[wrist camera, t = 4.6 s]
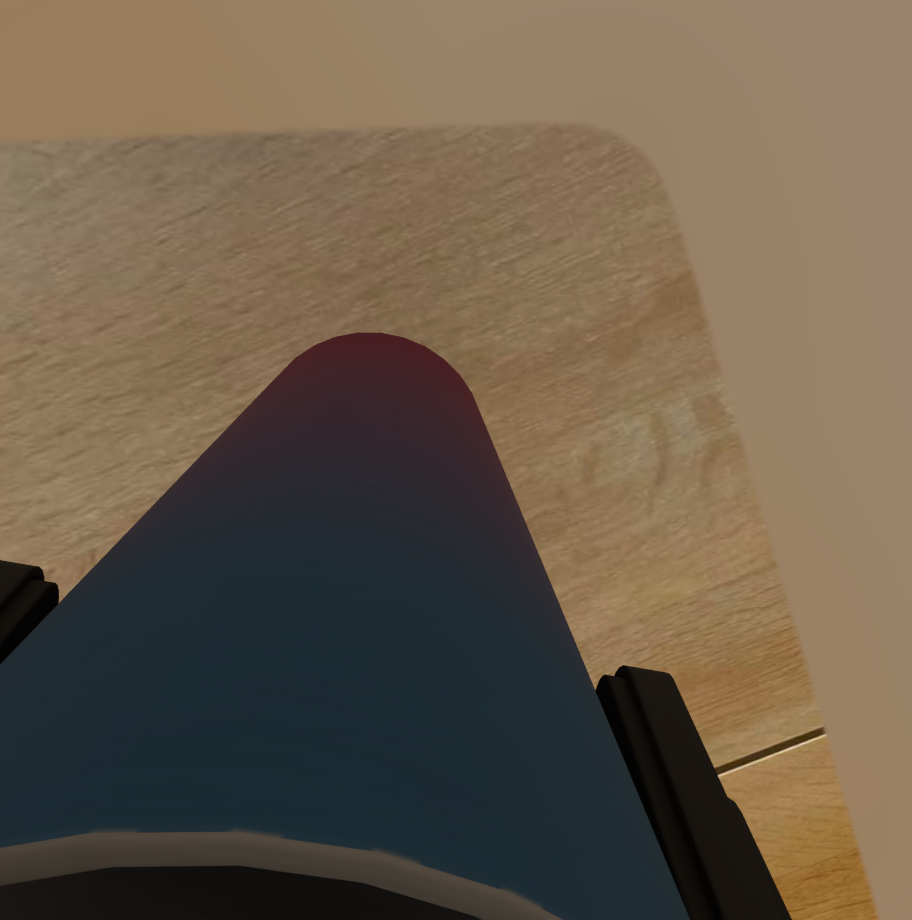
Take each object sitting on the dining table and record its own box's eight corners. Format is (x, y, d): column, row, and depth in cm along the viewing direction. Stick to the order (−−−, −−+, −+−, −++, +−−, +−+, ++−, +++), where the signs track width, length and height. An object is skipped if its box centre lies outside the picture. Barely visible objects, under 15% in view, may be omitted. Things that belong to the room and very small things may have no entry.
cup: (530, 564, 20) (766, 1519, 6) (245, 589, 20) (-162, 1602, 6) (515, 275, 18) (838, 771, 4) (191, 303, 18) (-672, 903, 4)
